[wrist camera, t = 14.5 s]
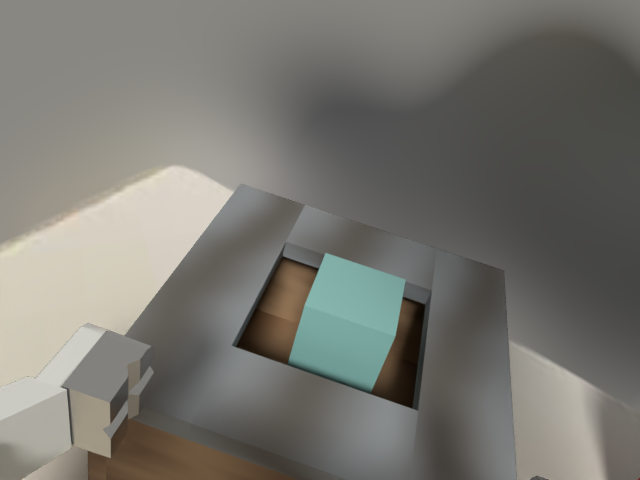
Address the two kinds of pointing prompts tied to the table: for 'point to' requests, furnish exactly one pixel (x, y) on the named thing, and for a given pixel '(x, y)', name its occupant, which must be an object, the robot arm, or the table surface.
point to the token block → (348, 323)
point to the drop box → (308, 389)
